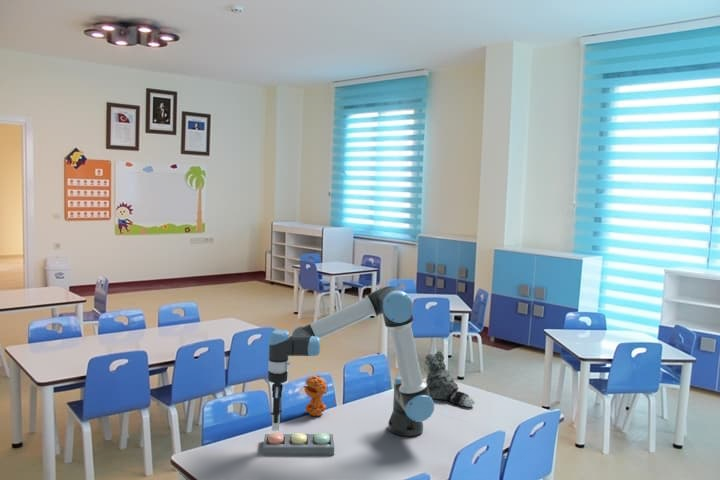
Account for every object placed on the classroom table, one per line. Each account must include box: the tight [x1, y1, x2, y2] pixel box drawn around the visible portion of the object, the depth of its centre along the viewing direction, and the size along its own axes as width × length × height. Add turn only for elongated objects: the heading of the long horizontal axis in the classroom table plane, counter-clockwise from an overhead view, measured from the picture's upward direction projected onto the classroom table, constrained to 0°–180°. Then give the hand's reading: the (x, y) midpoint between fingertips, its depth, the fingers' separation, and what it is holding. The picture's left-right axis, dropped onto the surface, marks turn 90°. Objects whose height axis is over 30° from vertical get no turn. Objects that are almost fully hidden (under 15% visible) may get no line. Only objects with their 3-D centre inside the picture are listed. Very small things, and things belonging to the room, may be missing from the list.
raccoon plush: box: [423, 350, 476, 408], centre depth 295 cm, size 15×32×21 cm, turn 56°
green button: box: [314, 432, 330, 444], centre depth 231 cm, size 6×6×3 cm
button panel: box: [262, 433, 335, 456], centre depth 230 cm, size 12×27×3 cm, turn 96°
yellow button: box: [291, 432, 307, 444], centre depth 230 cm, size 6×6×3 cm
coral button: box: [268, 432, 284, 444], centre depth 229 cm, size 6×6×3 cm
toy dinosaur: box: [303, 374, 329, 417], centre depth 265 cm, size 11×11×18 cm
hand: (275, 429), depth 229 cm, fingers closed
